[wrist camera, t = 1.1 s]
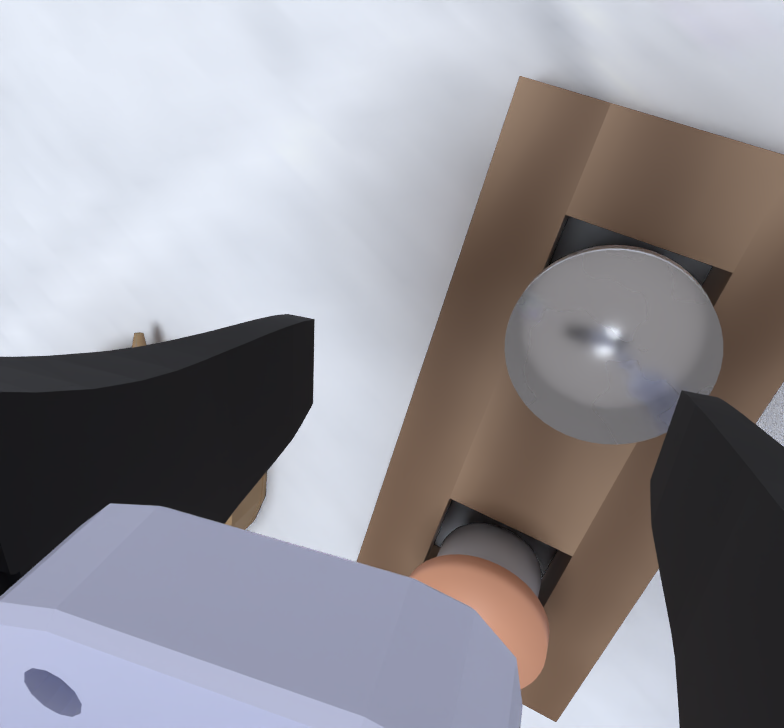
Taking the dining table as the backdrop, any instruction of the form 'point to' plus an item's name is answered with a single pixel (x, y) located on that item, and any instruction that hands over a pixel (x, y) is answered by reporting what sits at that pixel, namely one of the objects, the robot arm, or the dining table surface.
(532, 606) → the terracotta plunger
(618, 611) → the button panel
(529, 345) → the silver metal dome
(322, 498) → the dining table surface
